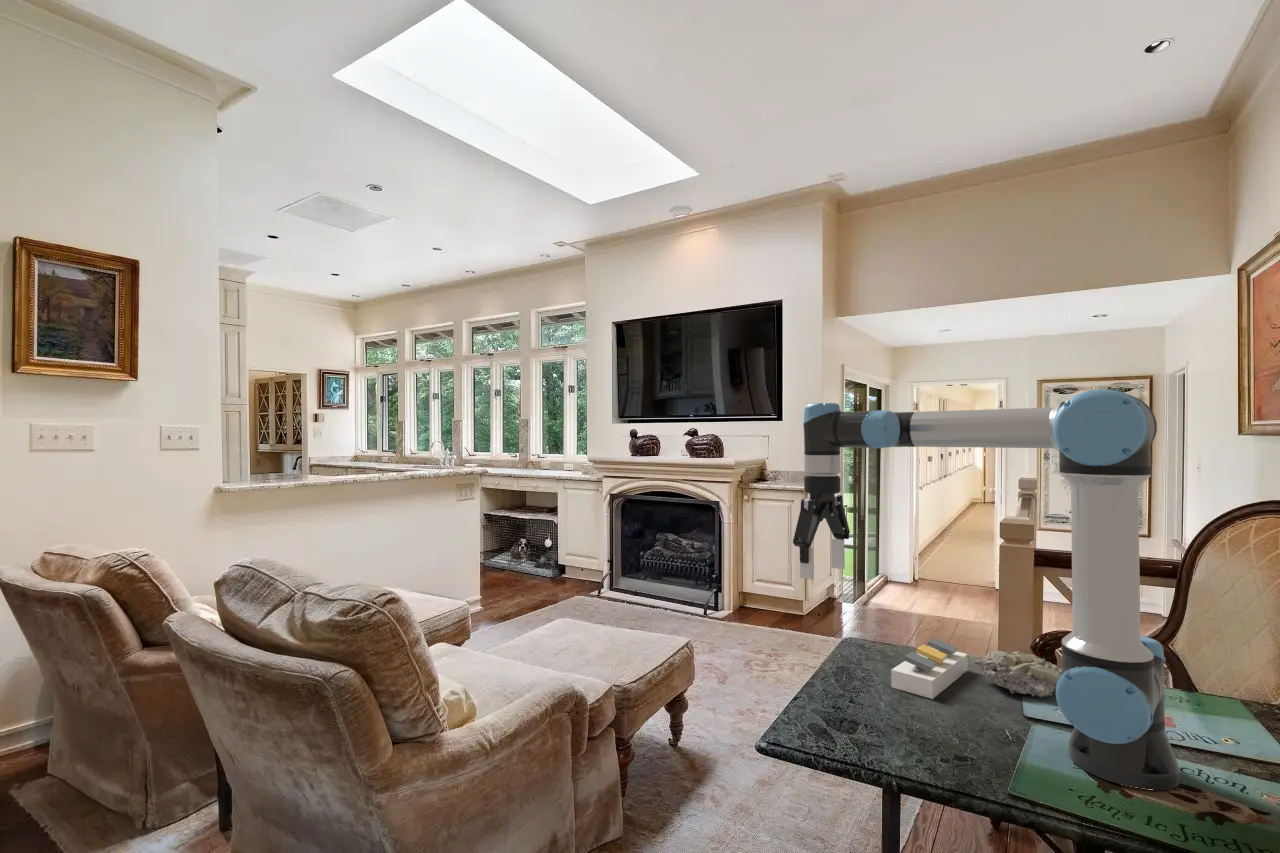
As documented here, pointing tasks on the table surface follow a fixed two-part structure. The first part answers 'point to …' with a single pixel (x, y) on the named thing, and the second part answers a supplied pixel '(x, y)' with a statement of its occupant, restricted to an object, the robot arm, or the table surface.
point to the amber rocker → (931, 653)
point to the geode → (1021, 672)
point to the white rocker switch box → (929, 675)
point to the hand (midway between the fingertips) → (823, 573)
